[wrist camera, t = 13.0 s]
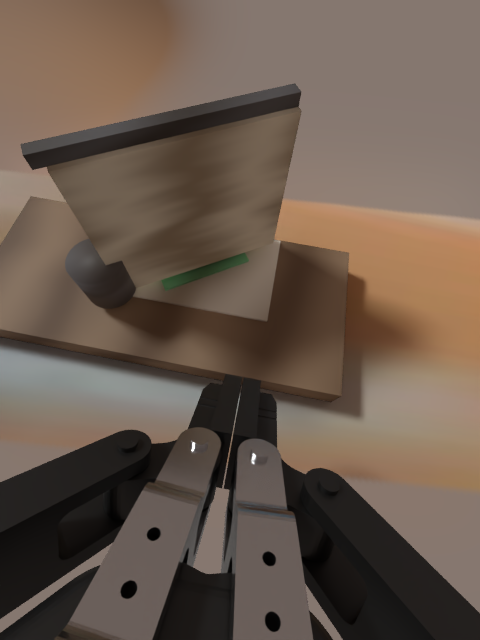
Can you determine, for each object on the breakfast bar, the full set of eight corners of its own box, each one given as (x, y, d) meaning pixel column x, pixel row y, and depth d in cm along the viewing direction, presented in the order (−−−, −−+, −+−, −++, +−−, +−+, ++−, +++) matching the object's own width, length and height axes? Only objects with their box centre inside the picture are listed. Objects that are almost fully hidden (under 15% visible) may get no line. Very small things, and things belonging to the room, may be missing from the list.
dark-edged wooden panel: (93, 315, 19) (-21, 190, 10) (82, 276, 20) (-29, 132, 11) (278, 253, 21) (315, 109, 13) (260, 220, 22) (282, 67, 14)
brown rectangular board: (-23, 332, 21) (-52, 317, 19) (45, 215, 25) (27, 192, 23) (331, 401, 20) (343, 394, 18) (339, 268, 24) (350, 249, 22)
